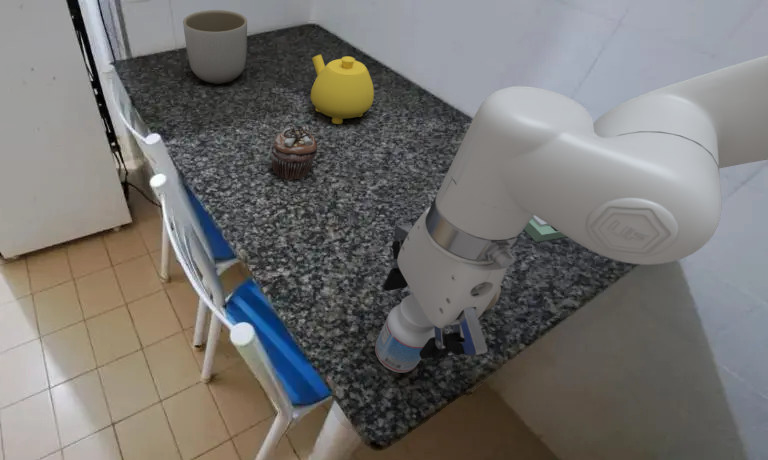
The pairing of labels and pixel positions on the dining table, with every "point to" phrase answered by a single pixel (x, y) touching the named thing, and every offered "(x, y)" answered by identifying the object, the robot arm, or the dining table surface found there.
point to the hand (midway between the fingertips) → (411, 318)
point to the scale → (542, 230)
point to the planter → (216, 44)
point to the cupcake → (293, 153)
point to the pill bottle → (404, 336)
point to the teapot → (341, 88)
